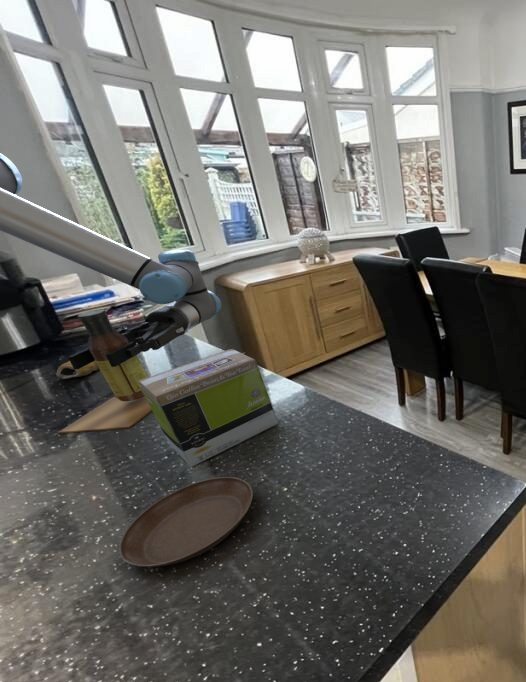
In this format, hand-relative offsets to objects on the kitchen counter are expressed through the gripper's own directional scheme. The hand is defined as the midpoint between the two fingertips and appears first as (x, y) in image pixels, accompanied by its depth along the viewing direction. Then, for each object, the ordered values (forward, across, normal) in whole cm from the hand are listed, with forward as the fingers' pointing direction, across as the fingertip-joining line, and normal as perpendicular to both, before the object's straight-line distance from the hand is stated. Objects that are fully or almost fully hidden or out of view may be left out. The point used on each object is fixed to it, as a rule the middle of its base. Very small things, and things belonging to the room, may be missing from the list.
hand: (92, 361), depth 78 cm
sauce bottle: (-5, 0, -11) cm, 12 cm away
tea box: (+12, -28, -12) cm, 33 cm away
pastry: (-23, +26, -13) cm, 37 cm away
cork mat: (-1, 0, -12) cm, 12 cm away
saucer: (+34, -36, -12) cm, 51 cm away
